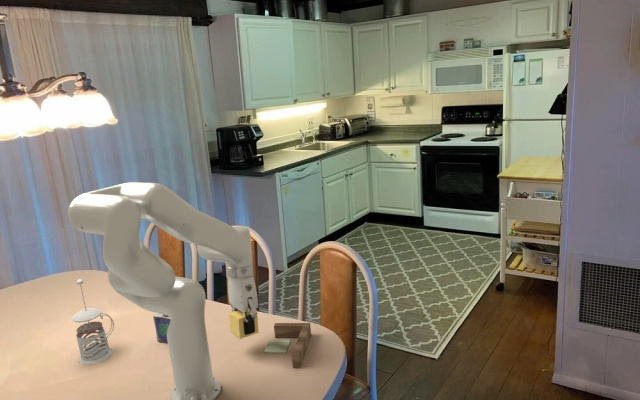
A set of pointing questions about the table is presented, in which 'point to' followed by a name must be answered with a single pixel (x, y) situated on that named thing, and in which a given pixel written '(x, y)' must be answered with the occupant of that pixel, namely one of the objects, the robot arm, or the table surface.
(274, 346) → the brown l-shaped piece
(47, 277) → the table surface
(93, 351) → the french press
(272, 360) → the table surface
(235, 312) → the cube
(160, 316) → the purple clover tin
